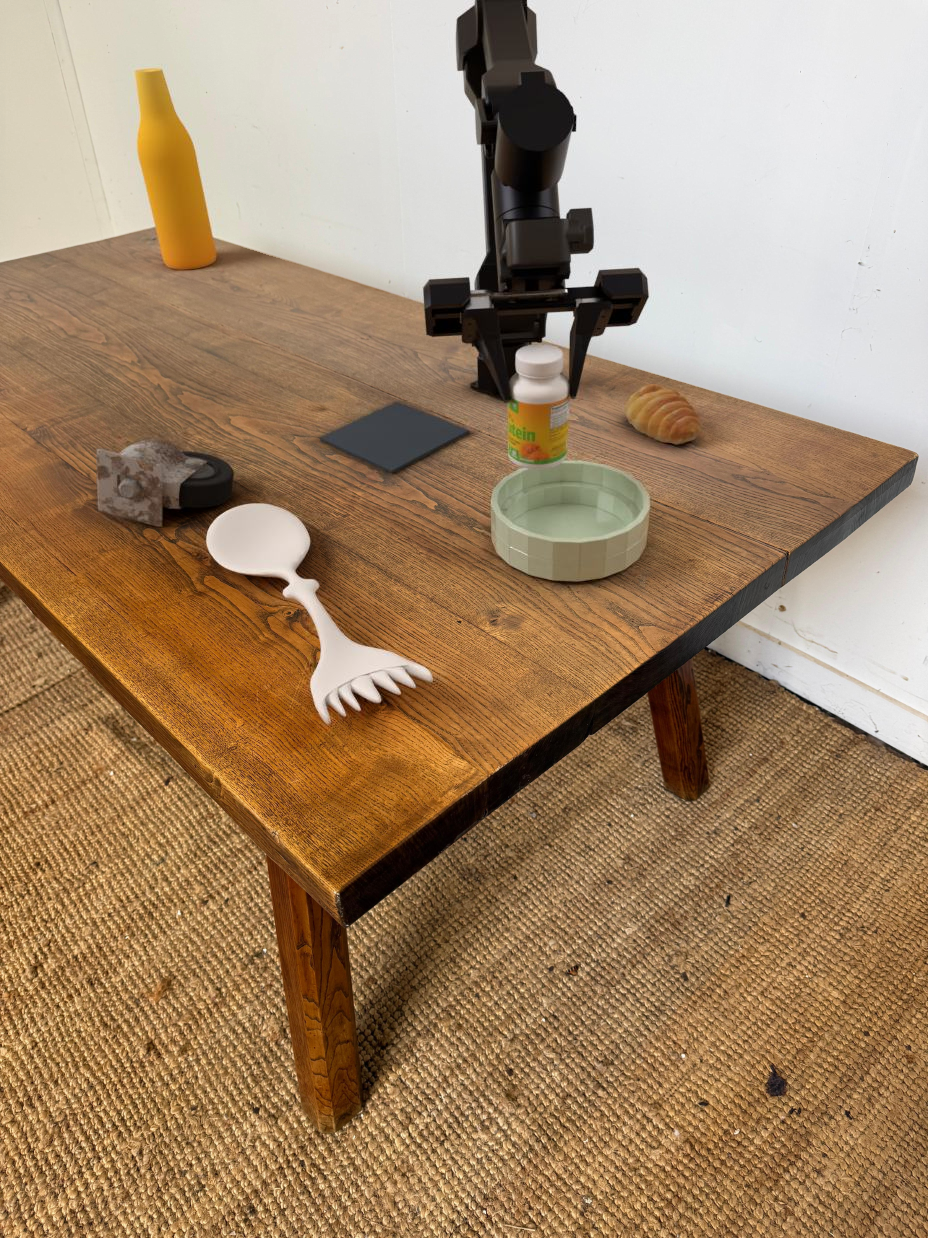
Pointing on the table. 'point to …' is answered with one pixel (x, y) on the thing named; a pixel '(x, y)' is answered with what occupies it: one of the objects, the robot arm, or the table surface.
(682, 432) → the pastry
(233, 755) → the table surface
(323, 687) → the spoon
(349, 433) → the mat
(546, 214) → the robot arm
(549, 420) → the supplement bottle
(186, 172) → the beer bottle
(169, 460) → the caster wheel
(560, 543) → the bowl
